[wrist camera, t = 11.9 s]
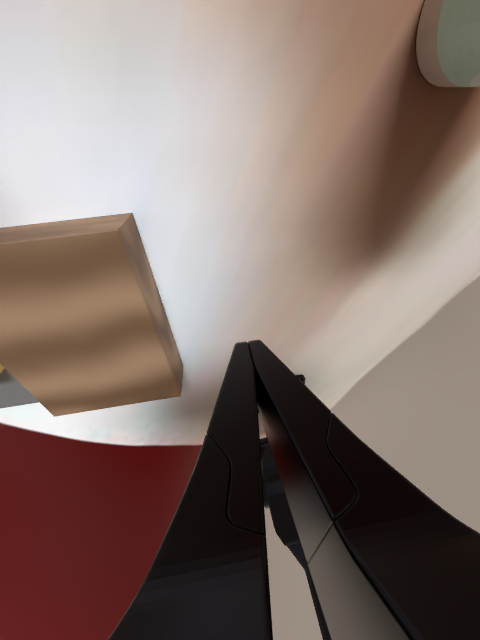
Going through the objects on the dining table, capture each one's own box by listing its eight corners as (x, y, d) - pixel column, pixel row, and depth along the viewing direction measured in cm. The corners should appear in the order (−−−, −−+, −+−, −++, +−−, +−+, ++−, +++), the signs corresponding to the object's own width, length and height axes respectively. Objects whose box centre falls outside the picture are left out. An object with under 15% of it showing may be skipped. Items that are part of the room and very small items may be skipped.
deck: (183, 365, 27) (180, 395, 24) (71, 382, 26) (54, 416, 23) (132, 212, 17) (117, 230, 14) (-49, 233, 16) (-109, 257, 13)
